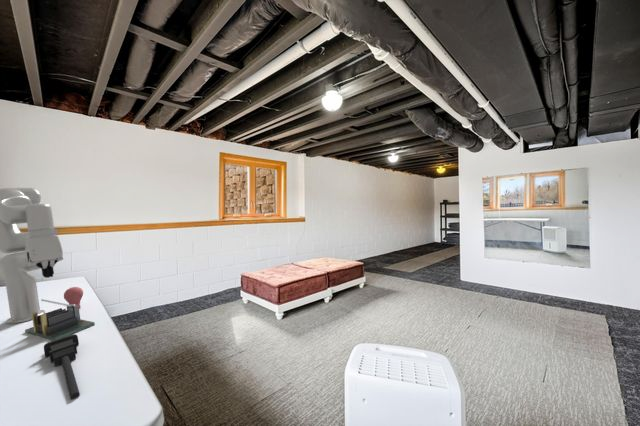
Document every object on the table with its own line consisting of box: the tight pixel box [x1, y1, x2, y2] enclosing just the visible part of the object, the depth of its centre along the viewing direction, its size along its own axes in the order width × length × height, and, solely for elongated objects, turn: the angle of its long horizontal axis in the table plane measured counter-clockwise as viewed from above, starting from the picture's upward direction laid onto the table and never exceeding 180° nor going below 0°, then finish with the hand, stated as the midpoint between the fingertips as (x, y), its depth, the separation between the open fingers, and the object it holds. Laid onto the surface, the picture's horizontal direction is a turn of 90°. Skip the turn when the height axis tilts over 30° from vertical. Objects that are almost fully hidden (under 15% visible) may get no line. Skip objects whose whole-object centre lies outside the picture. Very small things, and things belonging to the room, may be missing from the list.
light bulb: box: [63, 286, 84, 310], centre depth 131 cm, size 7×7×12 cm
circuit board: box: [24, 303, 96, 341], centre depth 112 cm, size 24×13×9 cm, turn 67°
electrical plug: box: [43, 333, 81, 400], centre depth 83 cm, size 9×42×5 cm, turn 48°
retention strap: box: [40, 299, 75, 308], centre depth 112 cm, size 3×12×2 cm, turn 157°
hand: (48, 276), depth 111 cm, fingers closed
